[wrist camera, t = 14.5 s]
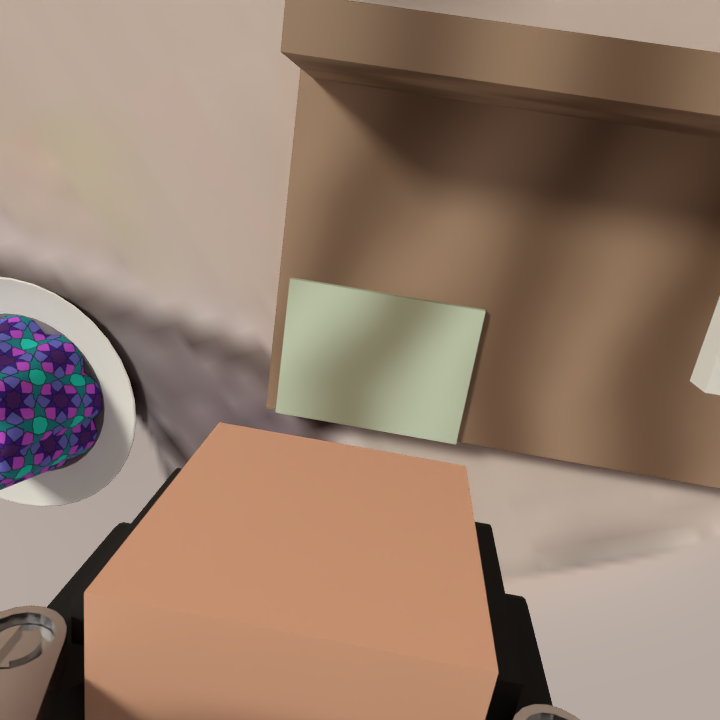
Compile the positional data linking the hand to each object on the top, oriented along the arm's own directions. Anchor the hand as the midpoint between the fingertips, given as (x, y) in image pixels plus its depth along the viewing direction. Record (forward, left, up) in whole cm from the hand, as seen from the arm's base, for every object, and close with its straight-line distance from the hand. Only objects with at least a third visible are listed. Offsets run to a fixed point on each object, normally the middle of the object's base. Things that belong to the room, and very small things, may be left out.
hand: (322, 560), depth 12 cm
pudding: (+17, +5, -16) cm, 24 cm away
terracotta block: (0, 0, 0) cm, 0 cm away
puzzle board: (-6, -4, -15) cm, 17 cm away
